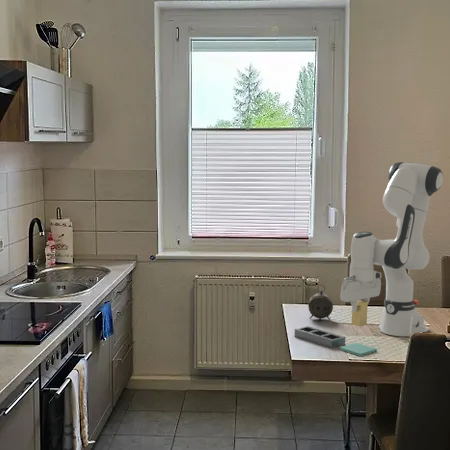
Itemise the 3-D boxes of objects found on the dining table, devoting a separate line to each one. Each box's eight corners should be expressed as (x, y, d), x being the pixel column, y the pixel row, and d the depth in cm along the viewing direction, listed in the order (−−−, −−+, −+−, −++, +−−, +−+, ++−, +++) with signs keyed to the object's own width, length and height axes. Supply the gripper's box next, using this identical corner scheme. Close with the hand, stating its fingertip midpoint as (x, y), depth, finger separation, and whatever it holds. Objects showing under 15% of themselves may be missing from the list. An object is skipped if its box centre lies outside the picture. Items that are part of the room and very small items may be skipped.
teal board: (356, 345, 254) (356, 342, 254) (376, 351, 247) (376, 348, 247) (339, 349, 248) (339, 347, 248) (360, 356, 240) (360, 353, 240)
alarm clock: (331, 319, 293) (333, 284, 291) (332, 322, 288) (334, 286, 286) (307, 318, 294) (308, 283, 292) (308, 321, 289) (309, 285, 287)
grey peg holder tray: (307, 333, 270) (308, 326, 270) (345, 344, 255) (345, 337, 254) (294, 336, 265) (294, 329, 264) (331, 348, 250) (332, 340, 249)
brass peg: (358, 322, 249) (359, 299, 248) (366, 325, 246) (367, 301, 245) (351, 324, 246) (352, 301, 245) (359, 326, 243) (361, 303, 242)
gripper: (350, 279, 235) (348, 316, 236) (384, 273, 248) (382, 308, 249) (337, 276, 240) (335, 312, 241) (371, 270, 253) (369, 305, 254)
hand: (359, 310), depth 245 cm, fingers closed on brass peg, 4 cm apart
